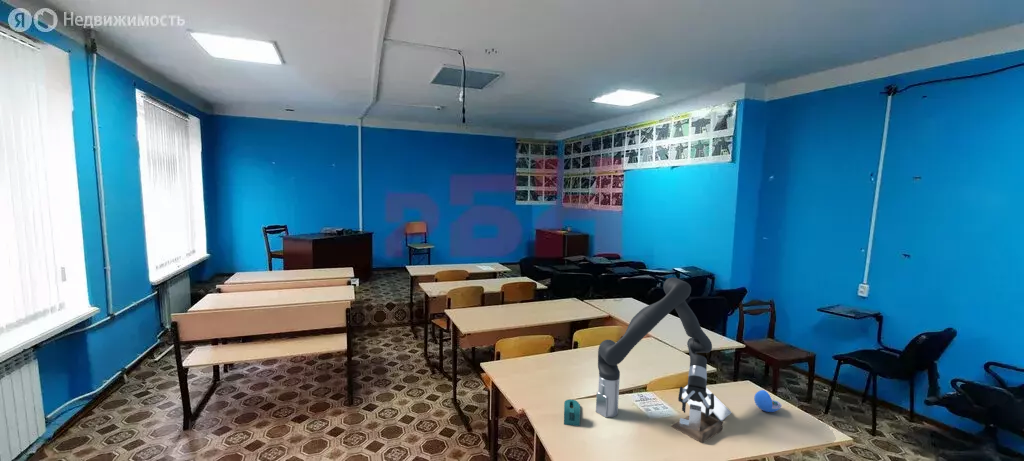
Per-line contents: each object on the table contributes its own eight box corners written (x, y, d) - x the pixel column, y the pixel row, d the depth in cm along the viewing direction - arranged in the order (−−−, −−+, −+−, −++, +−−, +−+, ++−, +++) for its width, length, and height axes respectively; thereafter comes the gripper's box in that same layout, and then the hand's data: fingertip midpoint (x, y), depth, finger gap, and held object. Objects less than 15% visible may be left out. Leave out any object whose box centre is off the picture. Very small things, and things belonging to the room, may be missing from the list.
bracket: (579, 426, 173) (580, 409, 173) (563, 424, 174) (564, 407, 174) (578, 404, 191) (579, 388, 190) (564, 403, 192) (564, 387, 191)
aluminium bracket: (699, 426, 175) (701, 406, 174) (699, 431, 171) (701, 411, 170) (679, 421, 178) (681, 401, 177) (679, 426, 174) (680, 406, 173)
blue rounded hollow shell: (786, 416, 186) (788, 396, 185) (762, 416, 185) (764, 396, 184) (771, 404, 195) (773, 385, 194) (748, 404, 195) (749, 386, 194)
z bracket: (711, 430, 180) (702, 420, 180) (686, 401, 205) (678, 392, 205) (731, 412, 180) (722, 402, 179) (704, 385, 205) (696, 377, 204)
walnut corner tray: (701, 443, 164) (702, 434, 163) (671, 426, 175) (671, 417, 175) (722, 430, 173) (722, 421, 172) (691, 415, 184) (692, 407, 184)
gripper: (680, 371, 182) (677, 407, 172) (715, 378, 176) (714, 416, 166) (680, 378, 187) (677, 413, 178) (714, 385, 181) (713, 422, 172)
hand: (695, 414), depth 172 cm, fingers open, 8 cm apart
